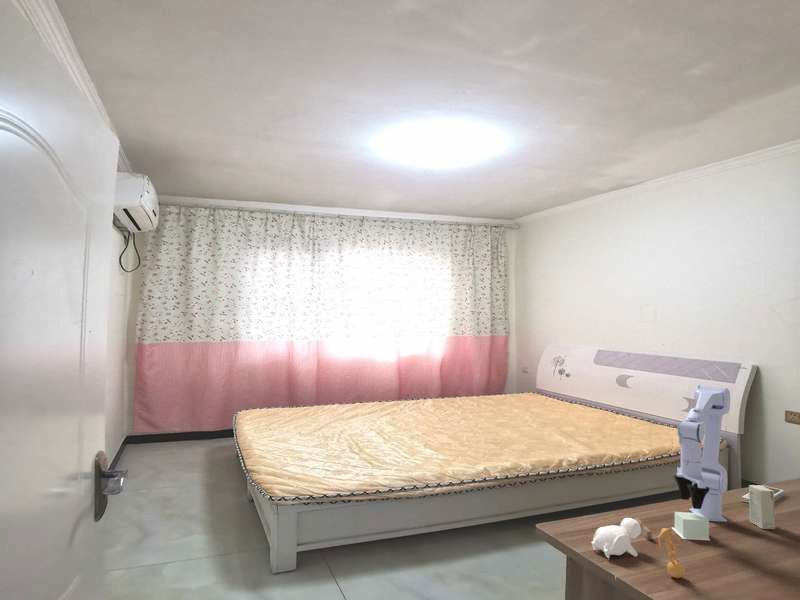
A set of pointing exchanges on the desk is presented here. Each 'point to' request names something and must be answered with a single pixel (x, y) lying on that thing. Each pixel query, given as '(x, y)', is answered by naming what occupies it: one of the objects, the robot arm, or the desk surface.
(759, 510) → the skincare box
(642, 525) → the stopper
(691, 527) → the pale green block
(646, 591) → the desk surface
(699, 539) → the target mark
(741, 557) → the desk surface
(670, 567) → the figurine
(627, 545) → the white crawling baby figure
